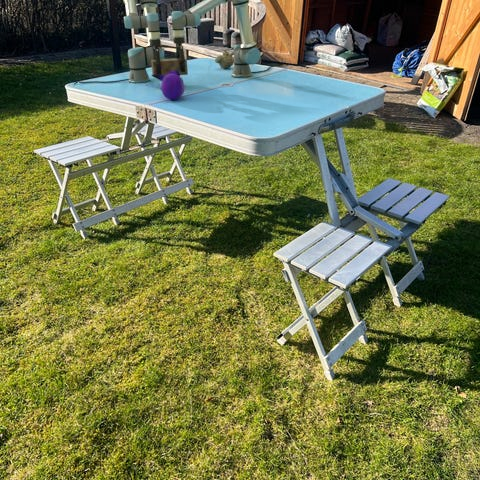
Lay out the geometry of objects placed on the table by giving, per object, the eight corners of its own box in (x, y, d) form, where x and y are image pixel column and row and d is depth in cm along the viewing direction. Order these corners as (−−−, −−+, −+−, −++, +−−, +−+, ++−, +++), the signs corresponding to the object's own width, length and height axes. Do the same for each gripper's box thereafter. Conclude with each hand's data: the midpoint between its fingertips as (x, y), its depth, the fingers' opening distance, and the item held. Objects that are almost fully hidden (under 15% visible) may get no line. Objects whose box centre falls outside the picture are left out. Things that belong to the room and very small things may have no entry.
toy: (175, 91, 304) (184, 105, 283) (149, 87, 296) (157, 101, 276) (179, 67, 296) (189, 80, 275) (153, 62, 288) (161, 75, 268)
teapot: (218, 70, 370) (218, 51, 363) (212, 68, 379) (211, 49, 371) (241, 68, 380) (240, 48, 372) (234, 66, 388) (233, 47, 381)
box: (154, 77, 305) (152, 61, 300) (152, 75, 312) (151, 59, 307) (187, 74, 311) (186, 59, 306) (185, 72, 318) (184, 57, 313)
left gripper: (162, 40, 290) (166, 77, 302) (158, 36, 308) (161, 71, 319) (151, 41, 288) (155, 77, 300) (147, 37, 306) (151, 72, 317)
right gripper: (187, 38, 292) (190, 72, 303) (180, 34, 313) (183, 67, 324) (176, 39, 290) (179, 73, 301) (170, 35, 311) (172, 67, 322)
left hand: (158, 74), depth 309 cm, fingers closed on box, 8 cm apart
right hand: (181, 70), depth 312 cm, fingers open, 13 cm apart
